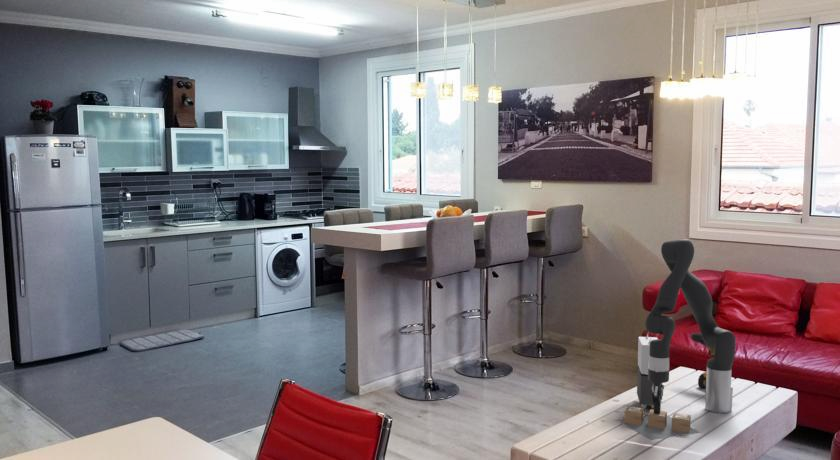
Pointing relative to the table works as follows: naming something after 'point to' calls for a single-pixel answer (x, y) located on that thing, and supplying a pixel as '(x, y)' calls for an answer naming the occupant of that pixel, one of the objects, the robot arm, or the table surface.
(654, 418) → the plain block
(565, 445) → the table surface
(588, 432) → the table surface
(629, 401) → the table surface
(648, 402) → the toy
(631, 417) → the marked block 1
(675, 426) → the marked block 2
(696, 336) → the power drill
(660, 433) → the mat
